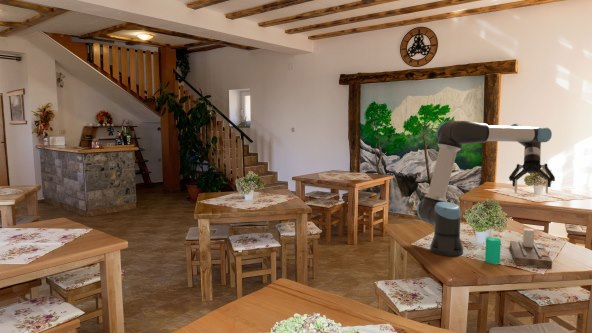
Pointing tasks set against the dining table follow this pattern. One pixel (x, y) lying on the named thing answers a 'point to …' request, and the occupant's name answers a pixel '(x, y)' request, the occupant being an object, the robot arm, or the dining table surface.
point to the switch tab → (528, 237)
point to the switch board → (530, 254)
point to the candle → (492, 250)
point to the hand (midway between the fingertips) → (530, 191)
